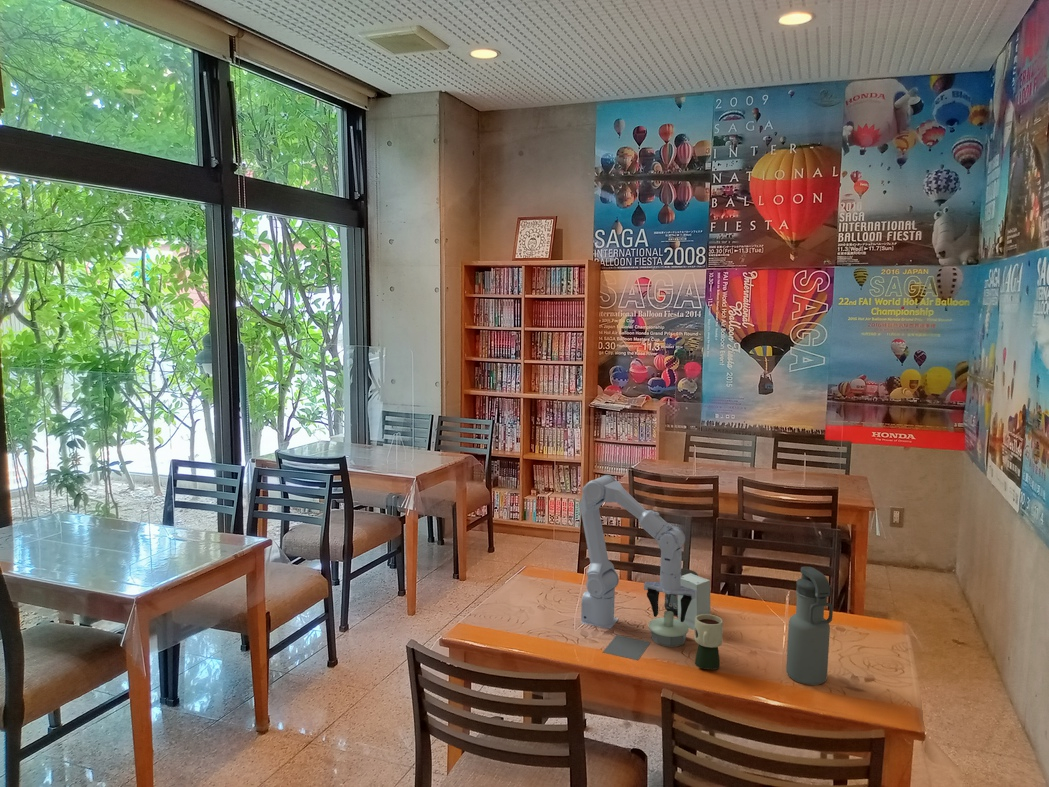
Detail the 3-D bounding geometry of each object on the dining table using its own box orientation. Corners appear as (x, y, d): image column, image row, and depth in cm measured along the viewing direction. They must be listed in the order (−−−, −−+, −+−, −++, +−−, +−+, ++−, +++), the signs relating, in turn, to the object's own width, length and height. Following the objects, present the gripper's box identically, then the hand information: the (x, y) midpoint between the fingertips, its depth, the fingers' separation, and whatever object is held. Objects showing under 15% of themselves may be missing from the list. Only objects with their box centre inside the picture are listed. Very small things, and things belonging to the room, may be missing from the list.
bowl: (648, 644, 204) (648, 630, 203) (657, 631, 212) (657, 618, 211) (680, 651, 200) (680, 637, 199) (687, 638, 208) (688, 624, 207)
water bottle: (836, 685, 182) (842, 577, 179) (801, 689, 180) (807, 580, 177) (811, 665, 192) (817, 563, 189) (778, 669, 190) (783, 565, 187)
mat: (602, 654, 197) (602, 652, 197) (616, 636, 208) (616, 634, 208) (637, 662, 193) (637, 660, 193) (650, 643, 204) (650, 641, 204)
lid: (642, 631, 203) (643, 615, 202) (656, 617, 212) (656, 602, 212) (681, 640, 197) (681, 624, 197) (693, 625, 207) (693, 610, 206)
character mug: (697, 655, 197) (699, 609, 196) (724, 660, 195) (726, 613, 193) (689, 673, 188) (691, 624, 186) (717, 679, 185) (719, 630, 183)
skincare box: (710, 629, 214) (712, 580, 212) (696, 634, 210) (698, 584, 209) (689, 619, 221) (691, 571, 219) (675, 623, 217) (677, 575, 216)
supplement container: (675, 601, 234) (677, 565, 233) (704, 610, 227) (706, 573, 226) (657, 610, 227) (658, 573, 226) (686, 620, 220) (688, 582, 218)
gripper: (641, 571, 203) (640, 618, 204) (693, 580, 197) (691, 628, 198) (648, 564, 209) (647, 609, 211) (699, 572, 203) (697, 618, 204)
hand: (669, 618), depth 205 cm, fingers open, 7 cm apart
